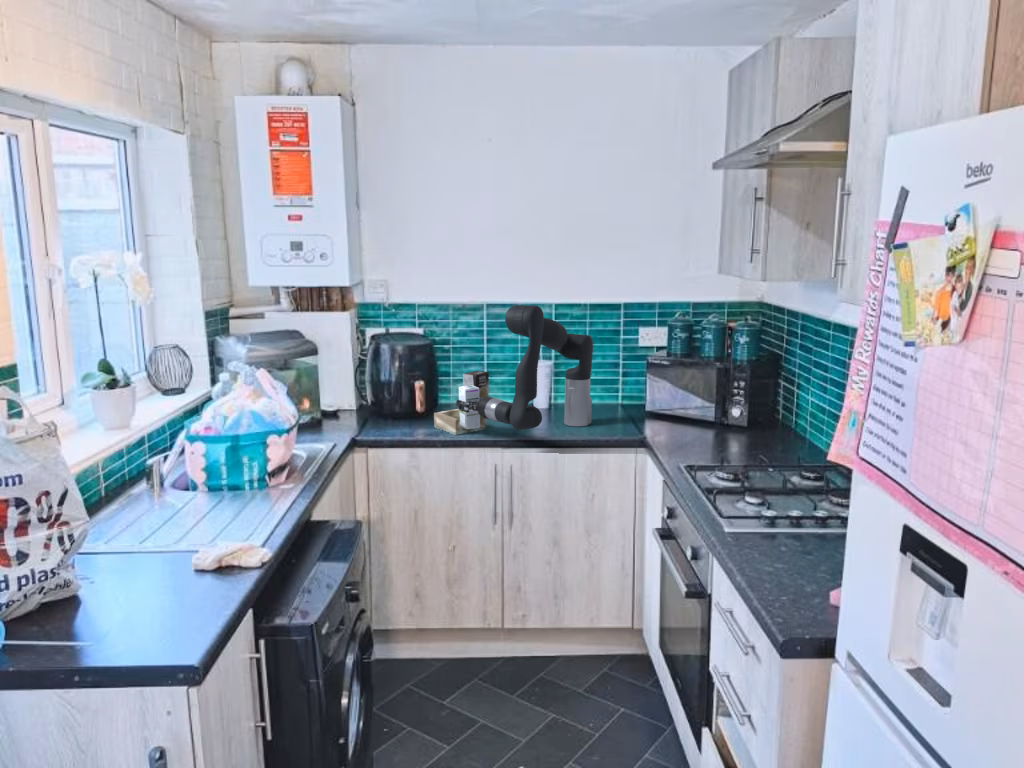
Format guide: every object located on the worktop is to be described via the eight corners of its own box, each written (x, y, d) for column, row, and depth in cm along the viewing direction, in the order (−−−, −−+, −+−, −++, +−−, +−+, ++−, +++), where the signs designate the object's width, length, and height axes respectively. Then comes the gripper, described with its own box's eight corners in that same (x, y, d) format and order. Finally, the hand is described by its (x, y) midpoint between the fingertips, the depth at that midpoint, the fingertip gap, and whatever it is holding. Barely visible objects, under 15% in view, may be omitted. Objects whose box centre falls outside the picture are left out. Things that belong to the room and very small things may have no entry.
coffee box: (475, 416, 294) (475, 375, 290) (462, 414, 297) (462, 373, 294) (489, 411, 301) (489, 371, 298) (476, 409, 305) (475, 370, 301)
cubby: (463, 422, 284) (463, 407, 283) (485, 429, 274) (485, 414, 273) (434, 427, 276) (434, 412, 275) (455, 435, 266) (455, 419, 265)
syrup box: (480, 427, 269) (480, 387, 266) (465, 429, 266) (465, 388, 263) (473, 424, 274) (473, 384, 271) (458, 426, 271) (458, 386, 268)
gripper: (510, 395, 261) (481, 388, 274) (477, 401, 252) (448, 393, 265) (510, 417, 263) (481, 408, 275) (477, 423, 254) (448, 414, 266)
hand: (465, 401), depth 270 cm, fingers closed on syrup box, 6 cm apart
